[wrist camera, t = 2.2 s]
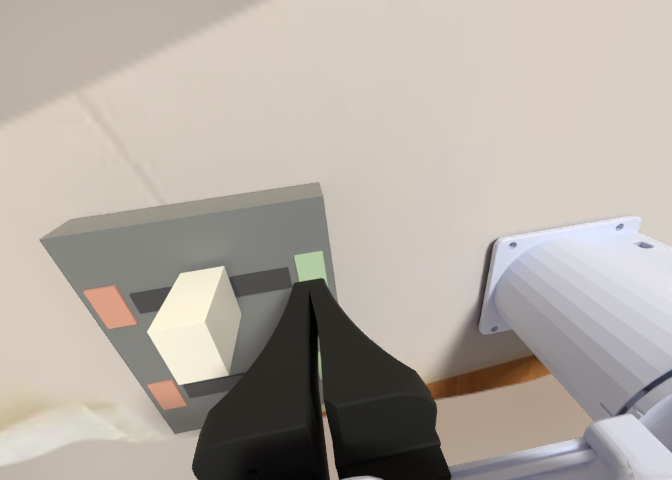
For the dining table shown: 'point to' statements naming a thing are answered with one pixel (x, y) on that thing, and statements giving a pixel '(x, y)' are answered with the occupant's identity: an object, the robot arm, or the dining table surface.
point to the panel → (191, 255)
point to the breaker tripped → (198, 326)
